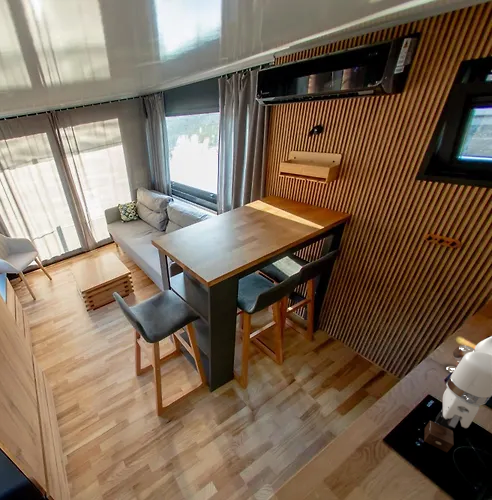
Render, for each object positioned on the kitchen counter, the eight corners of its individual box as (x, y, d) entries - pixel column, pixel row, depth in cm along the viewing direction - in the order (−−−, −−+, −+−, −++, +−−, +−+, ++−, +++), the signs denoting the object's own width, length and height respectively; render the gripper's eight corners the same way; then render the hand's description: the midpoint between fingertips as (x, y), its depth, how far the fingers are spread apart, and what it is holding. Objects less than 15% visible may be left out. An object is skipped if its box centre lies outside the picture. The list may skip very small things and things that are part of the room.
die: (453, 430, 80) (453, 444, 77) (446, 439, 82) (447, 453, 79) (430, 420, 83) (429, 433, 80) (424, 428, 86) (424, 441, 83)
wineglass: (444, 371, 100) (456, 351, 95) (444, 362, 104) (456, 341, 98) (466, 380, 96) (481, 359, 91) (466, 369, 100) (480, 349, 94)
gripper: (492, 418, 66) (462, 453, 74) (486, 377, 74) (459, 412, 83) (448, 400, 71) (425, 435, 79) (447, 363, 79) (426, 398, 88)
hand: (442, 423), depth 81 cm, fingers closed
